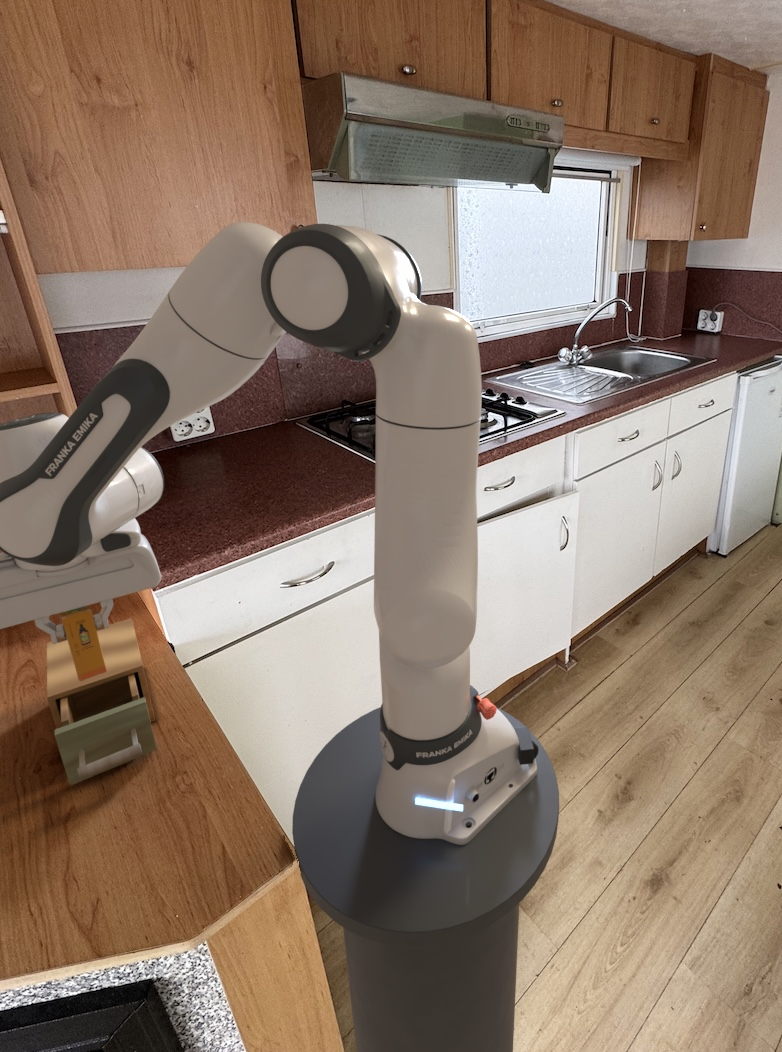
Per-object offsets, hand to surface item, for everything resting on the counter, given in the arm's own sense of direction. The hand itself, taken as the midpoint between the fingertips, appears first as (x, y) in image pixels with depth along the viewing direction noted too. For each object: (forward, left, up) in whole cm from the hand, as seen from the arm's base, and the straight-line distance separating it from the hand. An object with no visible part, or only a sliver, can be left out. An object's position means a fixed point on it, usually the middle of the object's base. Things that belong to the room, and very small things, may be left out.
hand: (82, 633), depth 77 cm
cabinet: (0, -12, -21) cm, 24 cm away
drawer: (0, -1, -21) cm, 21 cm away
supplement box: (0, 0, -6) cm, 6 cm away
